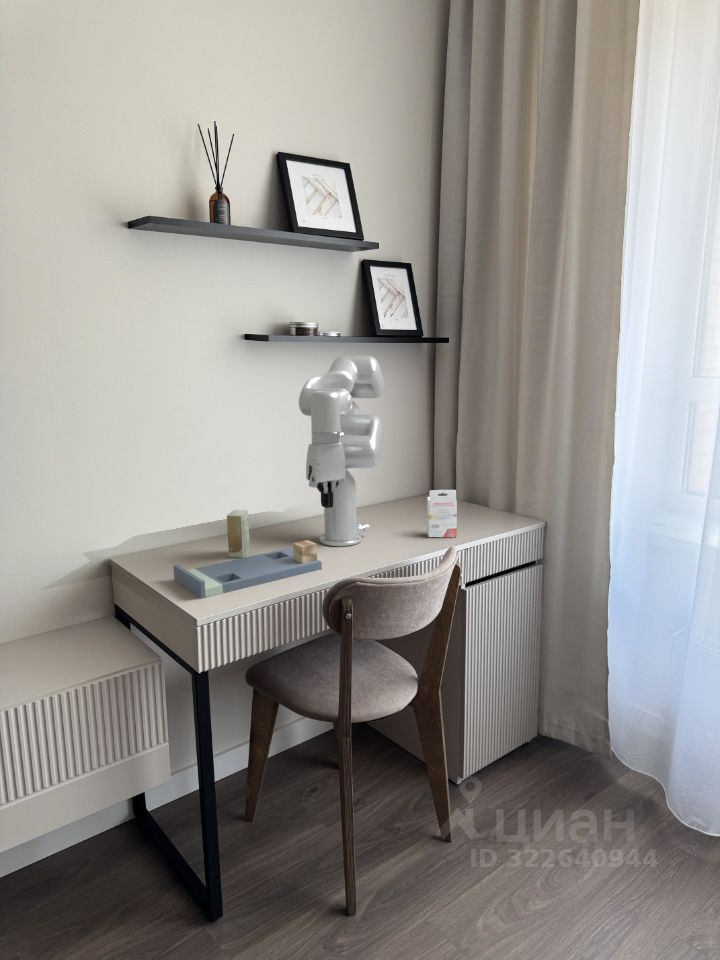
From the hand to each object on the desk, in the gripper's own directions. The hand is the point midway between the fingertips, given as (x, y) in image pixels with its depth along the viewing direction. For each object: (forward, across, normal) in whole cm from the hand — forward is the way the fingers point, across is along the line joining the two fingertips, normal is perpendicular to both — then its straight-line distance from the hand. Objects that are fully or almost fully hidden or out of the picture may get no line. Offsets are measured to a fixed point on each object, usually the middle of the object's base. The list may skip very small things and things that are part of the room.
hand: (327, 506), depth 190 cm
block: (+13, +7, 0) cm, 15 cm away
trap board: (+16, +22, -4) cm, 27 cm away
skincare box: (+16, +16, -21) cm, 31 cm away
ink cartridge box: (+15, -41, +1) cm, 44 cm away
